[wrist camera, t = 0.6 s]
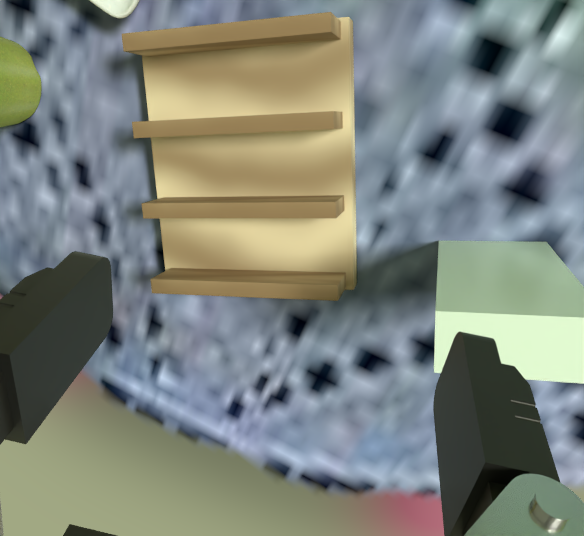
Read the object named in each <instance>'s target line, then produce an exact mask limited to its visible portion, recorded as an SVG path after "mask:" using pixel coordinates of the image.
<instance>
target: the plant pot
mask: <svg viewBox="0 0 584 536" xmlns="http://www.w3.org/2000/svg"><path fill="white" fill-rule="evenodd" d="M40 97H41V79H40V76H39V74H38V72H37V70H36V68H35V66H34V64H33V61H32V58H31V56H30V54H29V53H28V52H27V51H26V50H25V49H24V48H23V47H22V46H20V45H19V44H17V43H15V42H13V41H11V40H8V39H5V38H3V37H0V127H4V126H9V125H14V124H18V123H20V122H22V121H24V120H26V119H27V118H29V117H30V116H31V115H32V114H33V113H34V112H35V110H36V109H37V107H38V104H39V102H40Z"/></svg>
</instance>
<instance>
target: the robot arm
mask: <svg viewBox="0 0 584 536" xmlns="http://www.w3.org/2000/svg"><path fill="white" fill-rule="evenodd" d="M112 318H113V301H112V280H111V265H110V261H109V260H108V258H105V257H101V256H96V255H91V254H86V253H81V252H76V251H75V252H72V253H71V254H69V255H68V256H67V257H66V258H65V259H64V260H63V261H62V262H61V263H60V264H59V265H58V266H57V267H55V268H54V269H52V268H45V269H43V270H41V271H38V272H36V273H34V274H32V275H30V276H27V277H25V278H24V279H23V280H22V281H21V282H20V283H19V284H17V285H16V286H15V287H14V288H13V289H12V290H11V291H10V294H6V295H5V296H4V297H3V298H2V299H0V444H1V443H2V442H3V441H4V439H6V440H10V441H15V442H19V443H23V444H26V443H27V442H28V441H29V440H30V438H31V437H32V435H33V434H34V433H35V431H36V430H37V429H38V427H39V426H40V425H41V423H42V422H43V421H44V419H45V418H46V416H47V415H48V414H49V413H50V411H51V410H52V409H53V407H54V406H55V405H56V403H57V402H58V401H59V399H60V398H61V396H62V395H63V394H64V393H65V391H66V390H67V389H68V387H69V386H70V384H71V383H72V382H73V381H74V379H75V378H76V377H77V375H78V374H79V373H80V371H81V370H82V369H83V367H84V366H85V365H86V363H87V362H88V360H89V359H90V358H91V356H92V355H93V354H94V352H95V351H96V350H97V348H98V347H99V346H100V344H101V343H102V342H103V340H104V339H105V338H106V336H107V334H108V332H109V329H110V327H111V323H112ZM535 405H536V404H535V400H534V397H533V394H532V391H531V388H530V385H529V384H528V382H527V381H526V380H525V379H524V377H523V376H522V375H521V374H520V372H519V371H518V370H517V369H516V367H515V366H511V365H506V364H502V363H501V361H500V357H499V353H498V349H497V345H496V342H495V340H494V339H493V338H489V337H484V336H479V335H474V334H470V333H465V332H460V331H459V332H458V333H457V334H456V336H455V338H454V340H453V343H452V345H451V348H450V351H449V353H448V356H447V359H446V361H445V364H444V366H443V369H442V372H441V374H440V377H439V380H438V383H437V386H436V390H435V396H434V421H435V432H436V444H437V455H438V467H439V478H440V490H441V501H442V512H443V524H444V535H445V536H584V503H583V502H582V501H581V500H580V498H579V497H578V496H577V495H576V494H575V493H574V492H572V491H571V490H570V489H569V488H567V487H566V486H564V485H563V484H561V483H560V480H559V477H558V474H557V470H556V467H555V464H554V461H553V458H552V454H551V451H550V448H549V445H548V442H547V439H546V435H545V432H544V429H543V426H542V424H540V420H541V419H540V416H539V413H538V410H537V408H535ZM0 536H3V525H2V514H1V503H0ZM63 536H116V535H112V534H108V533H104V532H100V531H96V530H91V529H87V528H83V527H79V526H75V525H71V524H70V525H69V526H68V528H67V530H66V532H65V533H64V535H63Z"/></svg>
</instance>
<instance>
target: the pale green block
mask: <svg viewBox="0 0 584 536" xmlns="http://www.w3.org/2000/svg"><path fill="white" fill-rule="evenodd" d="M459 331H460V332H465V333H470V334H474V335H479V336H484V337H489V338H493V339H494V340H495V342H496V345H497V349H498V353H499V357H500V361H501V363H502V364H506V365H511V366H515V367H516V369H517V370H518V371H519V372H520V374H521V375H522V376H523V377H524V379H529V380H543V381H556V382H570V383H583V384H584V287H583V286H582V284H581V283H580V282H579V281H578V280H577V278H576V277H575V276H574V275H573V274H572V272H571V271H570V270H569V269H568V268H567V266H566V265H565V264H564V263H563V262H562V260H561V259H560V258H559V257H558V256H557V254H556V253H555V252H554V251H553V250H552V248H551V247H550V246H549V245H548V243H547V242H515V241H439V248H438V270H437V291H436V315H435V357H434V373H441V372H442V369H443V366H444V364H445V361H446V359H447V356H448V353H449V351H450V348H451V345H452V343H453V340H454V338H455V336H456V334H457V333H458V332H459Z"/></svg>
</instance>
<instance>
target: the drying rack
mask: <svg viewBox="0 0 584 536" xmlns="http://www.w3.org/2000/svg"><path fill="white" fill-rule="evenodd" d="M122 41H123V49H124V52H129V53H134V54H139V55H142V62H143V71H144V80H145V89H146V98H147V107H148V116H149V121H141V122H132V126H133V134H134V138H148V137H151V144H152V153H153V162H154V171H155V180H156V189H157V199H156V200H152V201H149V202H145V203H142V211H143V218H160V226H161V235H162V244H163V253H164V262H165V272H163V273H161V274H159V275H157V276H155V277H154V278H152V279H151V288H152V293H162V294H187V295H211V296H235V297H259V298H283V299H308V300H332V301H338V300H339V298H340V297H341V295H342V293H343V291H344V290H354V288H355V286H356V284H357V256H356V192H355V128H354V64H353V21H352V20H351V19H350V18H349V17H343V18H336V17H335V16H334V15H333V14H332V13H331V12H327V13H317V14H308V15H298V16H289V17H279V18H269V19H260V20H250V21H241V22H231V23H221V24H212V25H202V26H193V27H183V28H173V29H164V30H154V31H145V32H135V33H125V34H122Z"/></svg>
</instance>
